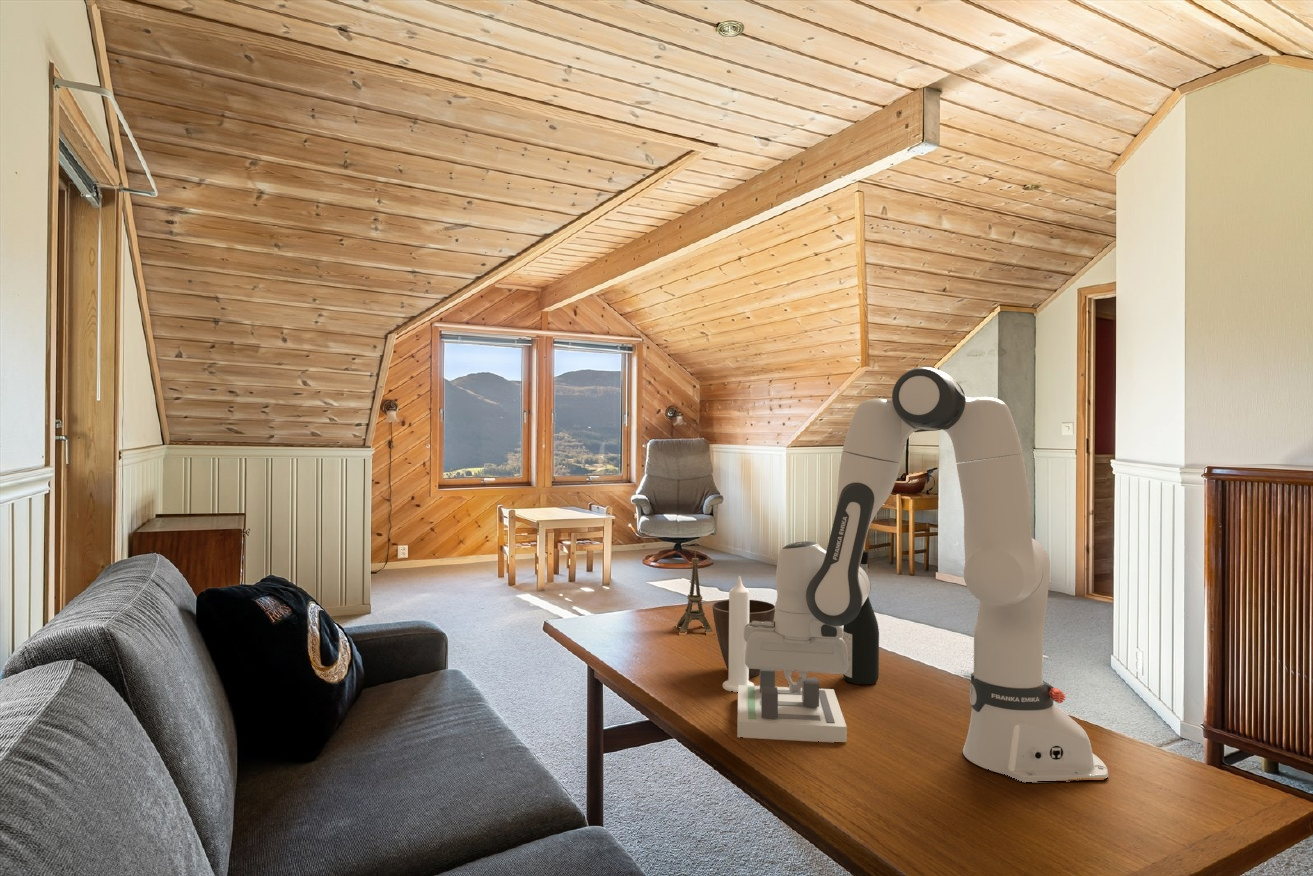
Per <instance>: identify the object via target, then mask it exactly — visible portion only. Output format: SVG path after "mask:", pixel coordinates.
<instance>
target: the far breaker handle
mask: <svg viewBox="0 0 1313 876" xmlns="http://www.w3.org/2000/svg"><path fill="white" fill-rule="evenodd" d="M759 686H760V692H761V687H776V670H766V669H760V673H759Z"/></svg>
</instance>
